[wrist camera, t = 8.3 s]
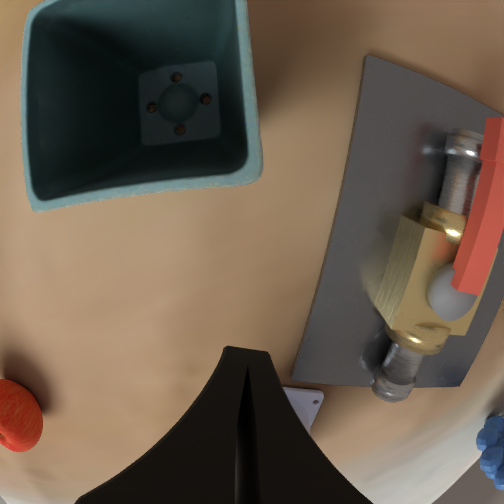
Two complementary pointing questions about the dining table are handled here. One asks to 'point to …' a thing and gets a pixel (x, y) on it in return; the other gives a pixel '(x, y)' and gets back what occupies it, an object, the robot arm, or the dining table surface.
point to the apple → (19, 417)
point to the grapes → (492, 449)
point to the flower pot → (136, 99)
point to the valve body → (400, 241)
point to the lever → (475, 234)
